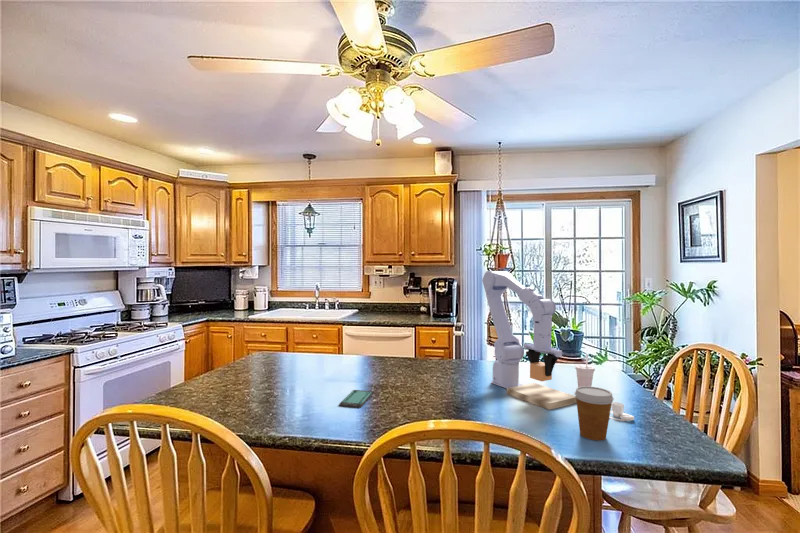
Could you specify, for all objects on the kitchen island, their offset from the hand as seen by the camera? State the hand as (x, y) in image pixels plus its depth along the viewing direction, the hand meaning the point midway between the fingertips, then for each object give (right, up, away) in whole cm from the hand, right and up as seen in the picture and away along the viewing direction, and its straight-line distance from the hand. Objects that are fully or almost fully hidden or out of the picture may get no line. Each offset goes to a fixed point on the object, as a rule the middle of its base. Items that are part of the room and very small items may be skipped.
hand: (541, 373), depth 141 cm
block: (0, -2, 0) cm, 2 cm away
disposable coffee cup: (+3, -9, -31) cm, 32 cm away
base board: (0, -8, 0) cm, 8 cm away
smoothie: (+17, -9, +6) cm, 20 cm away
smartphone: (-63, -8, -5) cm, 63 cm away
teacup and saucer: (+16, -9, -18) cm, 26 cm away
